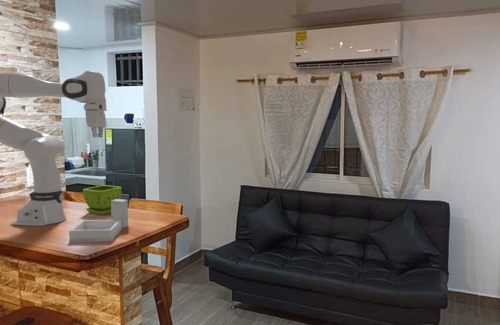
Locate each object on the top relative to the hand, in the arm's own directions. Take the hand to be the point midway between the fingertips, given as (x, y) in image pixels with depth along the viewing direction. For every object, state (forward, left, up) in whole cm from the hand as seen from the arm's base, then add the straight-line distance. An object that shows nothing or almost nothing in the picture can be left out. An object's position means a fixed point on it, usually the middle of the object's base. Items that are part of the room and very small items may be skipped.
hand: (97, 137), depth 182 cm
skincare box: (+11, -11, -39) cm, 42 cm away
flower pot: (-4, +17, -39) cm, 43 cm away
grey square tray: (+5, -24, -39) cm, 46 cm away
